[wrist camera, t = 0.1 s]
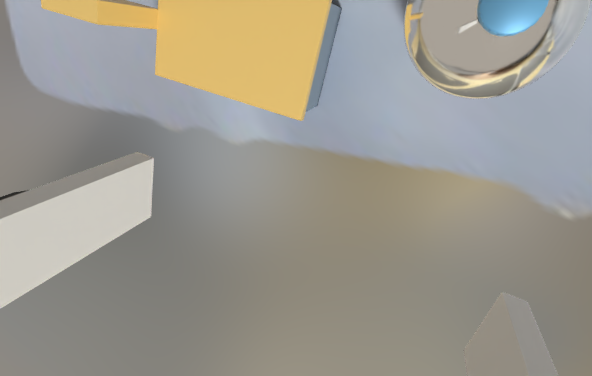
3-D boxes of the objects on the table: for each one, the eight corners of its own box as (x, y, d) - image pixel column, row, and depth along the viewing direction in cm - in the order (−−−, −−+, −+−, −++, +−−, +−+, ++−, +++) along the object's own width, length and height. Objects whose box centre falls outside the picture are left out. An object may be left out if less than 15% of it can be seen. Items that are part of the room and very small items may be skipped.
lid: (114, -54, 34) (33, -81, 27) (332, -4, 29) (304, -21, 22) (115, 59, 38) (46, 62, 31) (303, 119, 34) (272, 137, 27)
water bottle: (432, -15, 32) (451, -165, 10) (509, 4, 30) (735, -117, 8) (403, 61, 35) (367, 80, 13) (471, 82, 33) (566, 144, 11)
